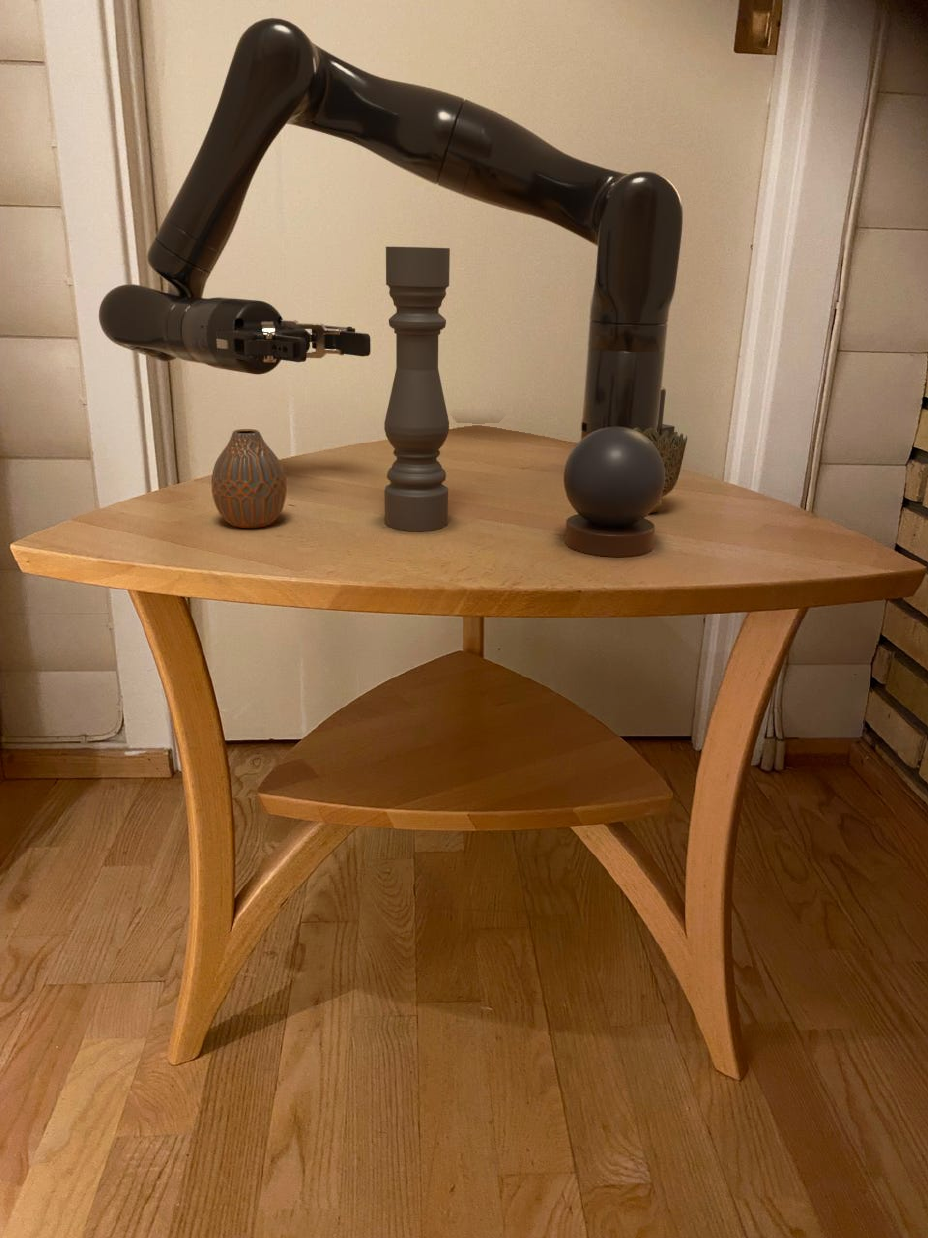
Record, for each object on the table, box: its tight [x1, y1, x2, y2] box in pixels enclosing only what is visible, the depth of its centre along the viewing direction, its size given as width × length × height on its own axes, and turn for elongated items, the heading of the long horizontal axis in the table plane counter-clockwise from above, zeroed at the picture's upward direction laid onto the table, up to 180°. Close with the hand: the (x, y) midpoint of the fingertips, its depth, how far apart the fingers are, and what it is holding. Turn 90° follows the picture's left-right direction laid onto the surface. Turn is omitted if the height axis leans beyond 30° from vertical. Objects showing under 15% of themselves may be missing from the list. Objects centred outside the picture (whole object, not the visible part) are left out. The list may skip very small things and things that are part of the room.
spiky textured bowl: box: [633, 427, 688, 514], centre depth 98 cm, size 8×7×8 cm
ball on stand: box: [563, 427, 665, 558], centre depth 86 cm, size 9×9×11 cm
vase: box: [210, 428, 287, 529], centre depth 90 cm, size 7×7×9 cm
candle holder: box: [383, 246, 451, 532], centre depth 89 cm, size 6×6×25 cm
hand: (337, 347), depth 94 cm, fingers open, 8 cm apart
